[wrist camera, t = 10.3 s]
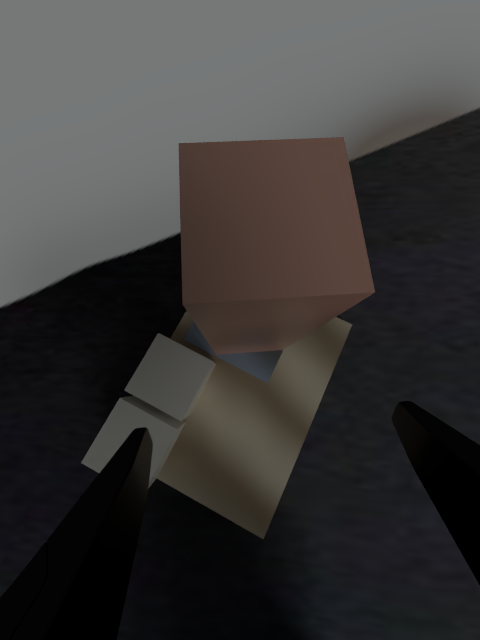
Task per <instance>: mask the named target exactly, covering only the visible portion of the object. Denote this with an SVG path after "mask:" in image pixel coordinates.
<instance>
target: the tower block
mask: <svg viewBox="0 0 480 640" xmlns="http://www.w3.org/2000/svg"><path fill="white" fill-rule="evenodd" d="M179 171H180V172H179V174H180V175H179V176H180V218H181V260H182V302H183V306H184V307H185V309H186V310H187V312H188V313H189V315H190V316H191V318H192V319H193V321H194V322H195V324H196V325H197V327H198V328H199V330H200V331H201V333H202V334H203V336H204V337H205V339H206V340H207V342H208V344H209V345H210V347H211V348H212V350H213V351H214V353H215V354H216V355H220V354H234V353H248V352H262V351H276V350H284V349H285V348H287V347H288V346H290V345H292V344H293V343H295V342H296V341H298V340H300V339H301V338H303V337H304V336H306V335H308V334H309V333H311V332H312V331H314V330H316V329H317V328H319V327H320V326H322V325H324V324H325V323H327V322H328V321H330V320H332V319H333V318H335V317H336V316H338V315H339V314H341V313H343V312H344V311H346V310H347V309H349V308H351V307H352V306H354V305H355V304H357V303H359V302H360V301H362V300H363V299H365V298H367V297H368V296H370V295H371V294H373V293H375V290H374V285H373V280H372V275H371V271H370V266H369V261H368V256H367V251H366V246H365V241H364V236H363V231H362V226H361V221H360V216H359V211H358V206H357V201H356V196H355V191H354V186H353V182H352V177H351V172H350V167H349V162H348V157H347V152H346V148H345V142H344V138H343V137H339V138H315V139H314V138H313V139H287V140H286V139H285V140H259V141H232V142H206V143H179Z"/></svg>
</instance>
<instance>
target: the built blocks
mask: <svg viewBox="0 0 480 640" xmlns="http://www.w3.org/2000/svg"><path fill="white" fill-rule="evenodd" d="M215 366H216V364H215V363H214V362H213V361H212V360H210V359H208V358H206V357H204V356H202V355H200V354H198V353H196V352H194V351H192V350H190V349H188V348H187V347H185V346H183V345H181V344H179V343H177V342H175V341H173V340H171V339H169V338H167V337H165V336H163V335H161V334H160V333H158V334H157V336H156V338H155V339H154V341H153V343H152V344H151V346H150V348H149V349H148V351H147V353H146V354H145V356H144V358H143V359H142V361H141V363H140V364H139V366H138V368H137V370H136V371H135V373H134V375H133V376H132V378H131V380H130V381H129V383H128V385H127V386H126V388H125V391H126V392H128V393H130V394H132V395H134V396H129V397H122V398H119V400H118V402H117V403H116V405H115V407H114V408H113V410H112V412H111V413H110V415H109V417H108V418H107V420H106V422H105V423H104V425H103V427H102V428H101V430H100V432H99V434H98V435H97V437H96V439H95V440H94V442H93V444H92V445H91V447H90V449H89V450H88V452H87V454H86V455H85V457H84V459H83V460H82V462H81V463H82V464H84V465H86V466H87V467H89V468H91V469H93V470H94V471H96V472H98V473H100V472H101V471H102V469H103V468H104V467H105V465H106V464H107V463H108V462H109V460H110V459H111V458H112V456H113V455H114V454H115V453H116V451H117V450H118V449H119V448H120V446H121V445H122V444H123V442H124V441H125V440H126V439H127V437H128V436H129V435H130V433H131V432H132V431H133V430H134V429H135V428H141V427H146V428H148V430H149V433H150V436H151V439H152V442H153V450H152V459H151V468H150V478H149V487H150V486H151V485H152V483H153V482H154V481H155V480H156V478H157V477H158V475H159V473H160V471H161V469H162V467H163V465H164V463H165V461H166V459H167V457H168V455H169V454H170V452H171V450H172V448H173V446H174V444H175V442H176V440H177V438H178V436H179V434H180V433H181V431H182V429H183V427H184V425H185V423H186V421H184V419H185V418H187V417H188V416H189V415H190V413H191V412H192V410H193V408H194V406H195V404H196V402H197V400H198V398H199V396H200V394H201V392H202V390H203V389H204V387H205V385H206V383H207V381H208V379H209V377H210V375H211V373H212V371H213V369H214V368H215ZM149 487H148V489H149Z"/></svg>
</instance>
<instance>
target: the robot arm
mask: <svg viewBox="0 0 480 640" xmlns="http://www.w3.org/2000/svg"><path fill="white" fill-rule="evenodd" d="M392 422H393V425H394V427H395V429H396V431H397V433H398V436H399V438H400V440H401V442H402V445H403V447H404V449H405V451H406V454H407V456H408V458H409V460H410V462H411V464H412V466H413V468H414V470H415V472H416V474H417V475H418V477H419V479H420V481H421V482H422V484H423V486H424V488H425V489H426V491H427V493H428V495H429V496H430V498H431V500H432V502H433V504H434V505H435V507H436V509H437V511H438V512H439V514H440V516H441V518H442V519H443V521H444V523H445V525H446V526H447V528H448V530H449V532H450V534H451V535H452V537H453V539H454V541H455V542H456V544H457V546H458V548H459V549H460V551H461V553H462V555H463V557H464V558H465V560H466V562H467V564H468V565H469V567H470V569H471V571H472V572H473V574H474V576H475V578H476V579H477V581H478V583H479V585H480V445H479V444H477V443H475V442H474V441H472V440H471V439H469V438H468V437H466V436H464V435H463V434H461V433H460V432H458V431H457V430H455V429H453V428H452V427H450V426H449V425H447V424H446V423H444V422H443V421H441V420H439V419H438V418H436V417H435V416H433V415H432V414H430V413H428V412H427V411H425V410H424V409H422V408H421V407H419V406H417V405H416V404H414V403H413V402H410V401H403V402H398V403H397V405H396V407H395V410H394V412H393V415H392ZM152 450H153V442H152V439H151V436H150V433H149V430H148V428H146V427H141V428H135V429H134V430H133V431H132V432H131V433H130V435H129V436H128V437H127V439H126V440H125V441H124V442H123V444H122V445H121V446H120V448H119V449H118V450H117V451H116V453H115V454H114V455H113V456H112V458H111V459H110V460H109V462H108V463H107V464H106V465H105V467H104V468H103V469H102V471H101V472H100V473H99V474H98V476H97V477H96V478H95V480H94V481H93V482H92V483H91V485H90V486H89V487H88V488H87V490H86V491H85V492H84V494H83V495H82V496H81V497H80V499H79V500H78V501H77V503H76V504H75V505H74V506H73V508H72V509H71V510H70V511H69V513H68V514H67V515H66V517H65V518H64V519H63V520H62V522H61V523H60V524H59V526H58V527H57V528H56V529H55V531H54V532H53V533H52V534H51V536H50V537H49V538H48V540H47V543H44V545H43V546H42V547H41V548H40V550H39V551H38V552H37V553H36V555H35V556H34V557H33V559H32V560H31V561H30V562H29V564H28V565H27V566H26V567H25V569H24V570H23V571H22V572H21V573H20V575H19V576H18V577H17V578H16V580H15V581H14V582H13V583H12V585H11V586H10V587H9V588H8V589H7V590H6V591H5V593H4V594H3V595H2V596H1V597H0V640H116V639H117V635H118V630H119V625H120V621H121V616H122V612H123V607H124V602H125V598H126V593H127V588H128V584H129V579H130V574H131V570H132V565H133V560H134V556H135V551H136V546H137V542H138V537H139V533H140V528H141V523H142V519H143V514H144V509H145V505H146V500H147V494H148V487H149V478H150V468H151V459H152Z"/></svg>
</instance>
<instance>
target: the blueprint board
mask: <svg viewBox="0 0 480 640" xmlns="http://www.w3.org/2000/svg"><path fill="white" fill-rule="evenodd" d="M351 326H352V324H350V323H347V322H345V321H343V320H341V319H339V318H337V317H335V318H333V319H332V320H330V321H328V322H327V323H325V324H324V325H322V326H320V327H319V328H317V329H316V330H314V331H312V332H311V333H309V334H308V335H306V336H304V337H303V338H301V339H300V340H298V341H296V342H295V343H293V344H292V345H290V346H288V347H287V348H285V349H284V350H276V351H262V352H248V353H234V354H220V355H216V354H215V353H214V351H213V350H212V348H211V347H210V345H209V344H208V342H207V340H206V339H205V337H204V336H203V334H202V333H201V331H200V330H199V328H198V327H197V325H196V324H195V322H194V321H193V319H192V318H191V316H190V315H189V313H188V312H187V311H186V312H185V314H184V316H183V318H182V319H181V321H180V323H179V324H178V326H177V328H176V330H175V331H174V333H173V335H172V336H171V338H170V339H171V340H173V341H175V342H177V343H179V344H181V345H183V346H185V347H187V348H188V349H190V350H192V351H194V352H196V353H198V354H200V355H202V356H204V357H206V358H208V359H210V360H212V361H213V362H214V363H215V364H216V366H215V368H214V369H213V371H212V373H211V375H210V377H209V379H208V381H207V383H206V385H205V387H204V389H203V390H202V392H201V394H200V396H199V398H198V400H197V402H196V404H195V406H194V408H193V410H192V412H191V413H190V415H189V416H188V417H187V418H185V419H184V421H186V423H185V425H184V427H183V429H182V431H181V433H180V434H179V436H178V438H177V440H176V442H175V444H174V446H173V448H172V450H171V452H170V454H169V455H168V457H167V459H166V461H165V463H164V465H163V467H162V469H161V471H160V473H159V475H158V477H157V479H159V480H161V481H162V482H164V483H166V484H168V485H169V486H171V487H173V488H175V489H176V490H178V491H180V492H182V493H183V494H185V495H187V496H189V497H190V498H192V499H194V500H196V501H197V502H199V503H201V504H203V505H204V506H206V507H208V508H210V509H211V510H213V511H215V512H217V513H218V514H220V515H222V516H223V517H225V518H227V519H229V520H230V521H232V522H234V523H236V524H237V525H239V526H241V527H243V528H244V529H246V530H248V531H250V532H251V533H253V534H255V535H257V536H258V537H260V538H262V539H264V537H265V534H266V532H267V529H268V527H269V525H270V522H271V520H272V517H273V515H274V513H275V510H276V508H277V505H278V503H279V500H280V498H281V496H282V493H283V491H284V488H285V486H286V483H287V481H288V479H289V476H290V474H291V471H292V469H293V466H294V464H295V462H296V459H297V457H298V454H299V452H300V450H301V447H302V445H303V442H304V440H305V437H306V435H307V433H308V430H309V428H310V425H311V423H312V420H313V418H314V416H315V413H316V411H317V408H318V406H319V403H320V401H321V399H322V396H323V394H324V391H325V389H326V386H327V384H328V382H329V379H330V377H331V374H332V372H333V370H334V367H335V365H336V362H337V360H338V357H339V355H340V353H341V350H342V348H343V345H344V343H345V340H346V338H347V336H348V333H349V331H350V328H351Z"/></svg>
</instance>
